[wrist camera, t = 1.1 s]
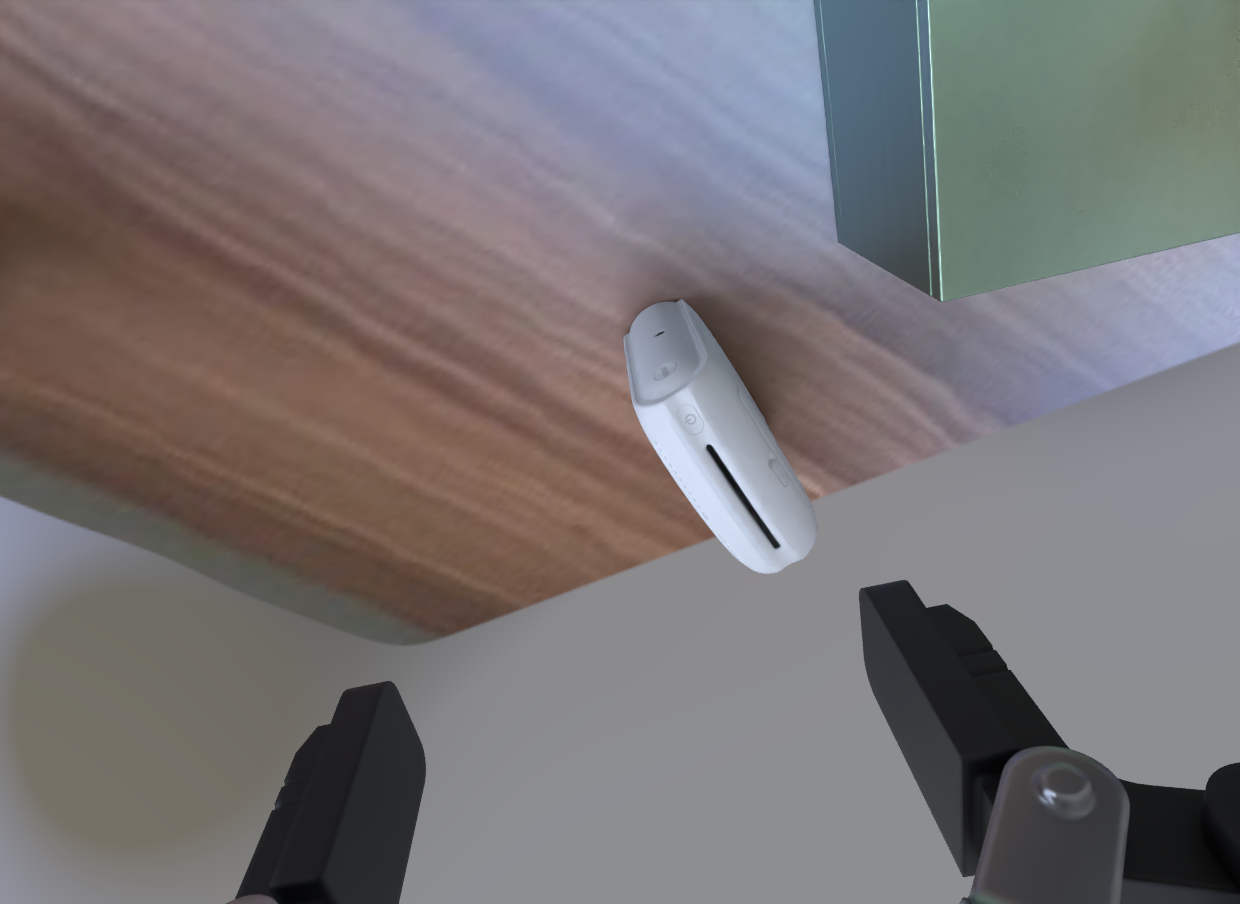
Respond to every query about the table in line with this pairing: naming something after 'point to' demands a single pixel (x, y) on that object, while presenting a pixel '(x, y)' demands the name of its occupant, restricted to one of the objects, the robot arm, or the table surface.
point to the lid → (1075, 134)
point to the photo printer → (716, 439)
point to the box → (877, 132)
